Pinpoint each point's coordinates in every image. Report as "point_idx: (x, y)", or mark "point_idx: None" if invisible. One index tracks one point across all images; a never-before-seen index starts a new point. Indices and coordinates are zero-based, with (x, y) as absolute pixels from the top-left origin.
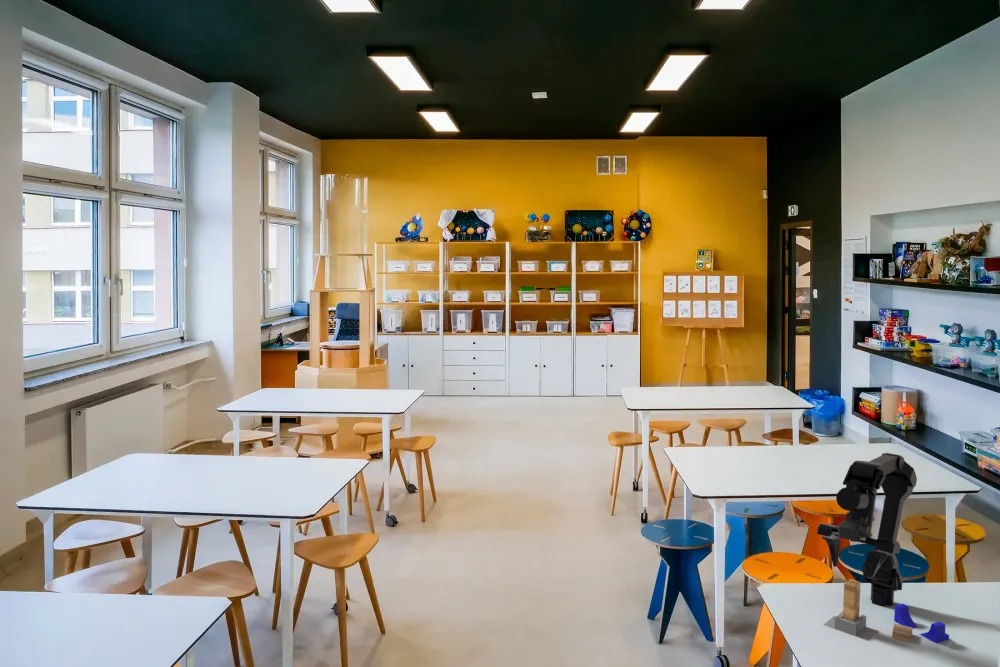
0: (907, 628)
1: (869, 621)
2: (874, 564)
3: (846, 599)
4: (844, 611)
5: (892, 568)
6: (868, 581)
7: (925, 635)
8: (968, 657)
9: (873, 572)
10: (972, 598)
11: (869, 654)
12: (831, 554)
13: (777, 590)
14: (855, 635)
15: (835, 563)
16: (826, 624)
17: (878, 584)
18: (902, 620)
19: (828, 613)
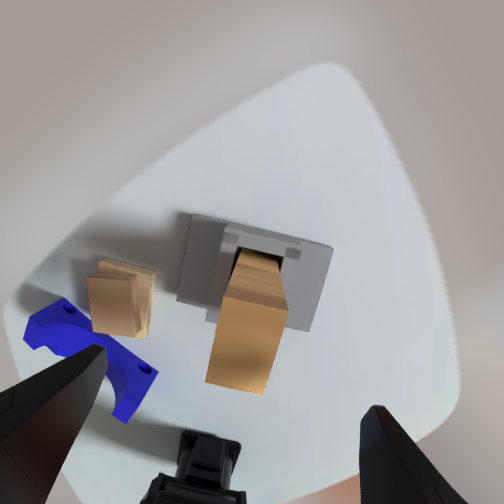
0: (100, 320)
1: None
2: (26, 399)
3: (268, 280)
4: (273, 268)
5: None
6: (233, 493)
7: (73, 322)
8: (20, 291)
9: (66, 359)
10: (96, 499)
11: (185, 165)
12: (427, 465)
13: (440, 401)
14: (230, 223)
15: (374, 425)
16: (325, 256)
17: (205, 487)
18: (127, 371)
19: (325, 362)
